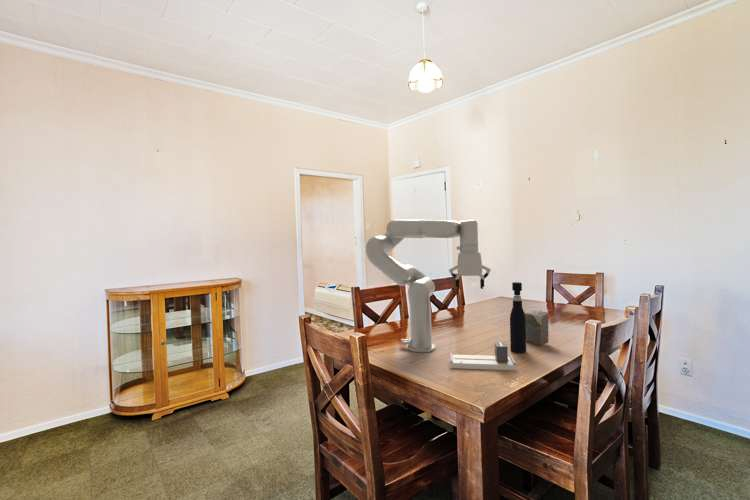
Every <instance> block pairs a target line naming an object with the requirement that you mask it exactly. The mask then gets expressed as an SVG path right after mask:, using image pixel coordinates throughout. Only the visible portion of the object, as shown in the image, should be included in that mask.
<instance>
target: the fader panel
mask: <svg viewBox="0 0 750 500" xmlns="http://www.w3.org/2000/svg"><path fill="white" fill-rule="evenodd" d="M449 356H450V362H449V363H450V369H466V370H467V369H468V370H469V369H470V370H473V369H474V370H493V371H495V370H497V371H498V370H499V371H516V370H517V363H516V361H515V359H514V357H513V355H512V354H510V353H508V362H497V361H496V358H495V355H484V354H483V355H481V354H479V355H478V354H477V355H476V354H475V355H474V354H453V352H450V355H449Z"/></svg>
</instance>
